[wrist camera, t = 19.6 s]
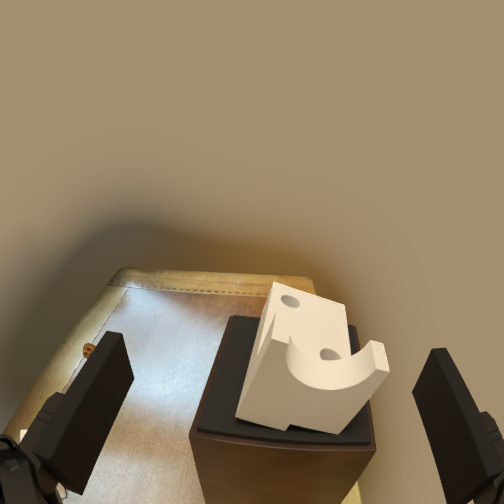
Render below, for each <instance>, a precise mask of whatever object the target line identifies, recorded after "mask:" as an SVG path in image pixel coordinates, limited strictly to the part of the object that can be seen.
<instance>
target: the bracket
mask: <svg viewBox="0 0 504 504" xmlns="http://www.w3.org/2000/svg"><path fill="white" fill-rule="evenodd" d="M389 372H390V370H389V366H388V362H387V357H386V353H385V349H384V345H383V343H379V342H376V341H372V340H370V341H369V343H368V344H367V345H366V346H365V347H364V348H363V349H362V350H360V351H359V352H358V353H356V354H354V355H352V356H351V350H350V342H349V334H348V326H347V319H346V312H345V305H343V304H340V303H337V302H334V301H331V300H328V299H325V298H322V297H319V296H316V295H313V294H310V293H307V292H304V291H300V290H297V289H294V288H292V287H289V286H286V285H283V284H280V283H277V282H273V285H272V288H271V290H270V293H269V295H268V298H267V301H266V303H265V306H264V308H263V311H262V315H261V319H260V323H259V327H258V331H257V335H256V339H255V343H254V346H253V350H252V354H251V358H250V362H249V366H248V370H247V374H246V377H245V381H244V385H243V389H242V393H241V396H240V400H239V404H238V408H237V411H236V415H235V417H237V418H240V419H243V420H247V421H250V422H254V423H257V424H261V425H264V426H268V427H272V428H275V429H279V430H283V431H285V430H286V429H287V428H288V426H289V425H290V424H292V425H296V426H301V427H305V428H309V429H314V430H318V431H323V432H328V433H333V434H339V433H340V432H341V431H342V430H343V429H344V428H345V426H346V425H347V424H348V423H349V422H350V421H351V420H352V419H353V417H354V416H355V415H356V414H357V413H358V412H359V410H360V409H361V408H362V407H363V406H364V404H365V403H366V402H367V401H368V400H369V398H370V397H371V396H372V395H373V393H374V392H375V391H376V390H377V388H378V387H379V386H380V384H381V383H382V382H383V381H384V379H385V378H386V377H387V375H388V374H389Z"/></svg>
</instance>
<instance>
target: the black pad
mask: <svg viewBox="0 0 504 504" xmlns="http://www.w3.org/2000/svg"><path fill="white" fill-rule="evenodd" d="M260 319H261V318H256V317H246V316H237V315H234V316H233V319H232V322H231V325H230V328H229V331H228V334H227V337H226V340H225V343H224V346H223V349H222V352H221V355H220V358H219V361H218V364H217V367H216V370H215V373H214V376H213V379H212V382H211V385H210V388H209V391H208V394H207V397H206V400H205V403H204V406H203V409H202V412H201V415H200V418H199V421H198V424H197V431H200V432H206V433H211V434H217V435H224V436H230V437H237V438H244V439H252V440H261V441H270V442H281V443H294V444H311V445H370V443H371V435H370V427H369V420H368V412H367V405H366V403H365V404H364V406H363V407H362V408H361V409H360V410H359V412H358V413H357V414H356V415H355V416H354V417H353V419H352V420H351V421H350V422H349V423H348V424H347V425H346V426H345V428H344V429H343V430H342V431H341V432H340V433H339V434H333V433H328V432H323V431H318V430H314V429H309V428H305V427H301V426H296V425H292V424H290V425H289V426H288V428H287V429H286V430H285V431H283V430H279V429H275V428H272V427H268V426H264V425H261V424H257V423H254V422H250V421H247V420H243V419H240V418H237V417H235V415H236V411H237V408H238V404H239V400H240V396H241V393H242V389H243V385H244V381H245V377H246V374H247V370H248V366H249V362H250V358H251V354H252V350H253V346H254V343H255V339H256V335H257V331H258V327H259V323H260ZM347 326H348V334H349V342H350V350H351V356H352V355H354V354H356V353H358V350H357V344H356V339H355V334H354V329H353V325H347Z"/></svg>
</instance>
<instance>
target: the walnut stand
mask: <svg viewBox="0 0 504 504" xmlns="http://www.w3.org/2000/svg"><path fill="white" fill-rule="evenodd" d="M232 319H233V316H230V317H229V320H228V323H227V326H226V329H225V331H224V334H223V337H222V340H221V343H220V346H219V349H218V352H217V354H216V357H215V360H214V363H213V366H212V369H211V372H210V375H209V377H208V380H207V383H206V386H205V389H204V392H203V395H202V398H201V400H200V403H199V406H198V409H197V412H196V415H195V418H194V421H193V423H192V426H191V429H190V432H189V439H190V444H191V448H192V452H193V457H194V461H195V465H196V469H197V473H198V477H199V481H200V484H201V488H202V492H203V496H204V499H205V503H206V504H341V502H342V501H343V500H344V498H345V497H346V495H347V494H348V493H349V491H350V490H351V488H352V487H353V486H354V484H355V483H356V481H357V480H358V478H359V477H360V475H361V474H362V472H363V471H364V469H365V468H366V466H367V465H368V463H369V462H370V460H371V458H372V457H373V455H374V454H375V452H376V443H375V435H374V428H373V421H372V414H371V407H370V401H369V400H368V401H367V402H366V405H367V412H368V420H369V427H370V435H371V443H370V445H311V444H294V443H281V442H270V441H261V440H252V439H244V438H237V437H230V436H224V435H217V434H211V433H206V432H200V431H197V424H198V421H199V418H200V415H201V412H202V409H203V406H204V403H205V400H206V397H207V394H208V391H209V388H210V385H211V382H212V379H213V376H214V373H215V370H216V367H217V364H218V361H219V358H220V355H221V352H222V349H223V346H224V343H225V340H226V337H227V334H228V331H229V328H230V325H231V322H232ZM353 329H354V334H355V339H356V344H357V350H358V352H359V351H360V350H361V349H360V344H359V340H358V334H357V330H356V326H353Z"/></svg>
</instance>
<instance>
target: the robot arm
mask: <svg viewBox="0 0 504 504" xmlns="http://www.w3.org/2000/svg"><path fill="white" fill-rule="evenodd" d="M133 380H134V375H133V372H132V368H131V365H130V361H129V358H128V354H127V350H126V346H125V343H124V339H123V335H122V333H117V332H111V331H106V333H105V334H104V336H103V337H102V338H101V340H100V341H99V343H98V344H97V346H96V347H95V349H94V350H93V352H92V353H91V355H90V356H89V358H88V359H87V361H86V362H85V364H84V365H83V367H82V369H81V370H80V372H79V373H78V375H77V376H76V378H75V379H74V381H73V382H72V384H71V386H70V387H69V389H68V390H67V392H66V394H62V393H59V392H56V393H54V394H53V395H52V396H51V397H49V398H48V399H47V400H46V401H45V403H44V405H43V406H42V408H41V411H39V412H38V414H37V416H36V419H34V420H33V422H32V424H31V425H30V427H29V429H28V430H27V432H26V433H25V435H24V437H23V438H22V440H21V442H20V443H19V445H18V444H17V443H16V442H15V441H14V440H13V439H12V438H11V437H10V436H8V435H5V434H2V435H0V504H63V503H62V500H61V497H60V494H59V492H58V490H57V488H56V487H57V485H58V483H60V484H61V485H62V486H63V487H64V488H65V489H67V490H69V491H72V492H74V493H77V494H79V495H83V492H84V490H85V487H86V485H87V482H88V480H89V478H90V475H91V473H92V471H93V468H94V466H95V464H96V461H97V459H98V457H99V454H100V452H101V450H102V448H103V445H104V443H105V441H106V439H107V436H108V434H109V432H110V430H111V427H112V425H113V423H114V421H115V419H116V417H117V414H118V412H119V410H120V408H121V406H122V404H123V401H124V399H125V397H126V395H127V393H128V391H129V389H130V387H131V385H132V382H133ZM412 394H413V396H414V399H415V402H416V405H417V407H418V410H419V413H420V416H421V419H422V422H423V425H424V428H425V430H426V434H427V437H428V440H429V443H430V446H431V449H432V453H433V456H434V459H435V463H436V466H437V469H438V473H439V476H440V480H441V483H442V487H443V491H444V494H445V498H446V502H447V504H467V503H468V502H470V501H471V500H472V499H473V501H474V504H504V439H502V435H501V433H500V431H499V428H498V426H497V424H496V422H495V420H494V419H493V418H492V417H491V416H490V414H488V412H486V411H485V412H481V413H480V412H479V410H478V408H477V406H476V404H475V402H474V400H473V398H472V396H471V394H470V392H469V390H468V388H467V386H466V384H465V382H464V380H463V378H462V377H461V374H460V373H459V371H458V369H457V367H456V366H455V363H454V362H453V360H452V358H451V356H450V354H449V353H448V351H447V349H446V348H436V349H431V352H430V354H429V356H428V359H427V361H426V363H425V365H424V368H423V370H422V372H421V374H420V376H419V378H418V381H417V383H416V385H415V387H414V389H413V391H412Z"/></svg>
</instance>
